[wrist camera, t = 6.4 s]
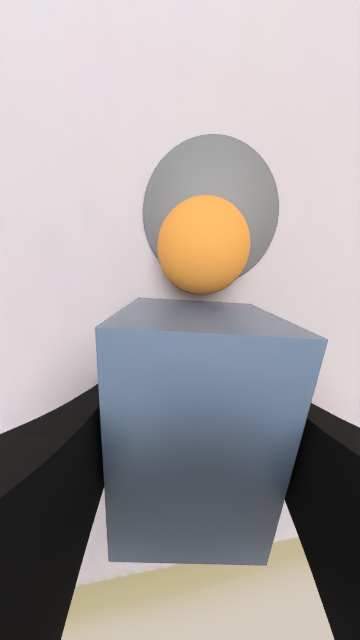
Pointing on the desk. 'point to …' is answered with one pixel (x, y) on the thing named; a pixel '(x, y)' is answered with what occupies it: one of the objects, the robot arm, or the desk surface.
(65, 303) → the desk surface
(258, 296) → the desk surface
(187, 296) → the desk surface
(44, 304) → the desk surface
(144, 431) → the blue-grey rectangular block
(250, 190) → the rest mark
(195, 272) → the ball
